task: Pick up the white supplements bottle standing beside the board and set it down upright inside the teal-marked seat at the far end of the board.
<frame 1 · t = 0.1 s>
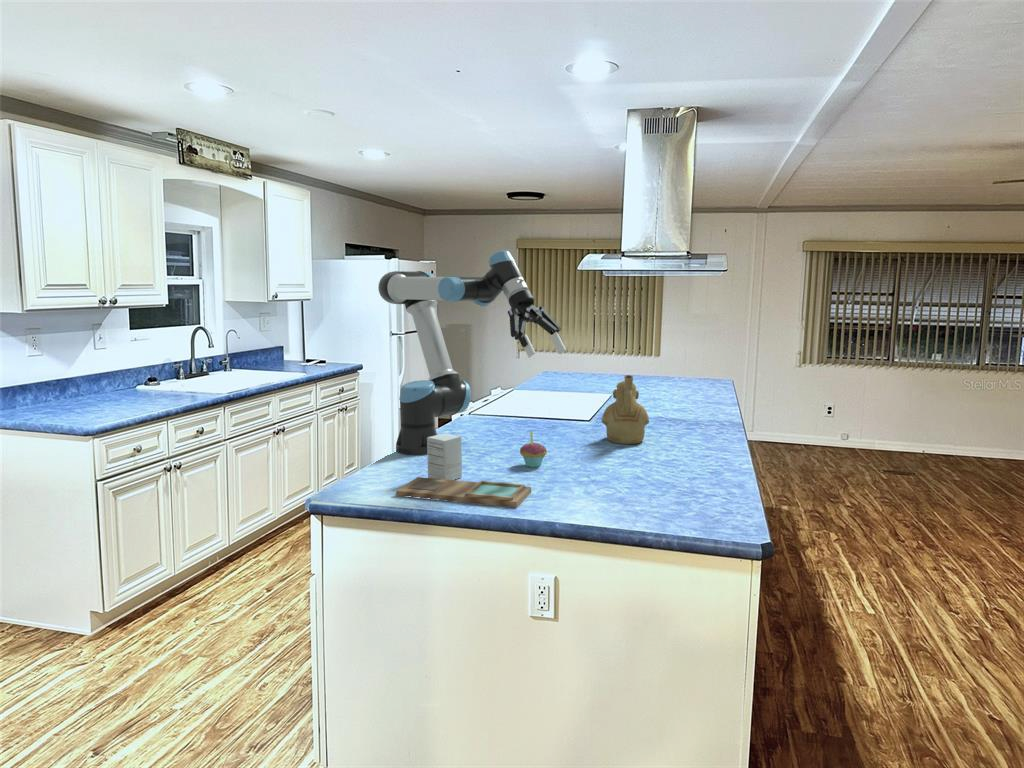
hand: (547, 353, 214), 36 cm above the worktop, tool tilted 35°, fingers open, 13 cm apart
board: (464, 494, 193), on the worktop
supplement box: (444, 479, 209), on the worktop
cupcake: (533, 465, 224), on the worktop
ceramic vessel: (624, 441, 258), on the worktop
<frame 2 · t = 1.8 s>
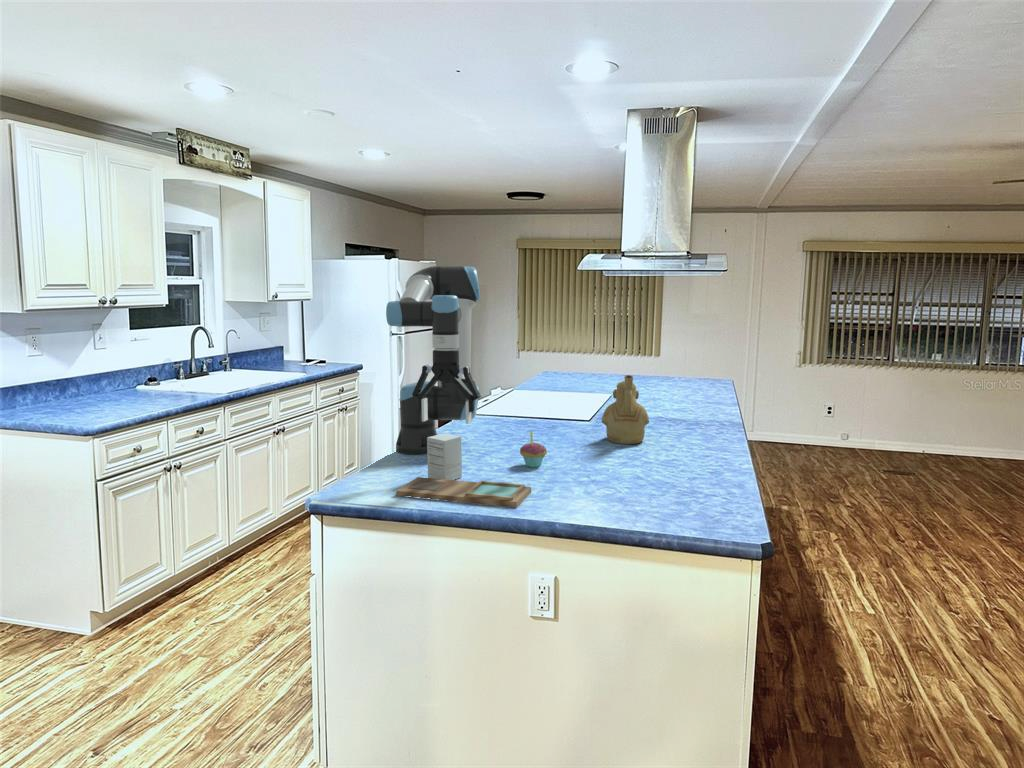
hand: (446, 422, 206), 17 cm above the worktop, tool pointing down, fingers open, 13 cm apart
nothing on the worktop moved.
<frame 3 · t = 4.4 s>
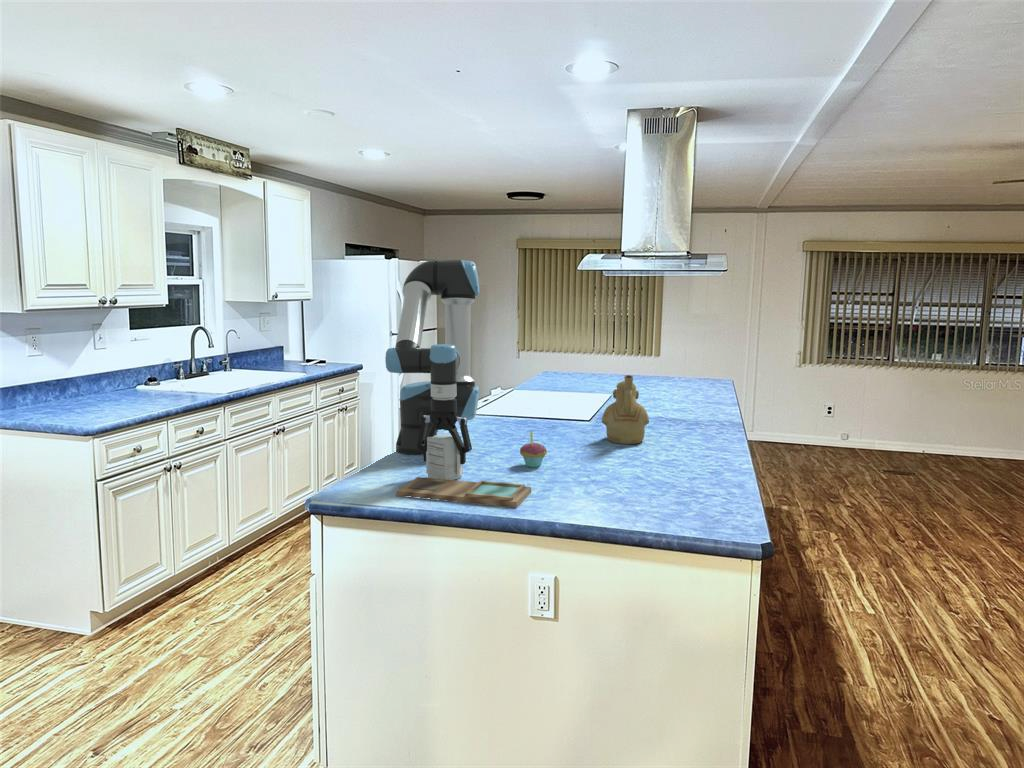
hand: (444, 473, 208), 1 cm above the worktop, tool pointing down, fingers closed on supplement box, 9 cm apart
supplement box: (444, 479, 209), on the worktop, touching gripper
everything else where it was.
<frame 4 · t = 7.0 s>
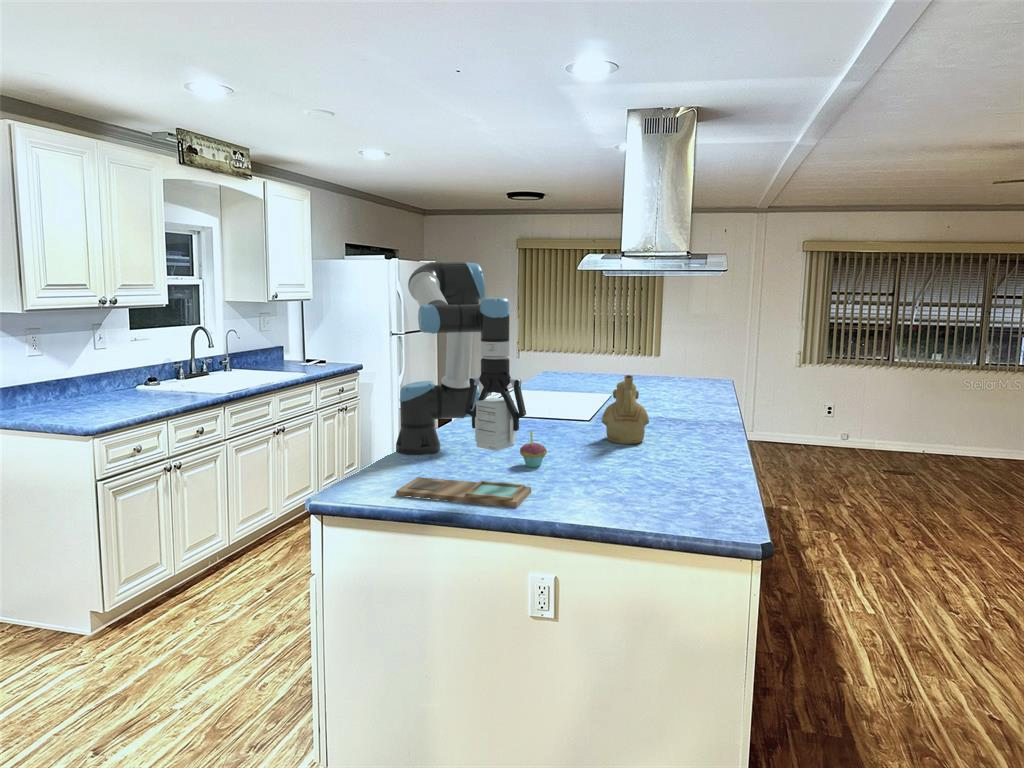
hand: (495, 441, 188), 15 cm above the worktop, tool pointing down, fingers closed on supplement box, 9 cm apart
supplement box: (495, 447, 189), point 14 cm above the worktop, touching gripper
everything else where it was.
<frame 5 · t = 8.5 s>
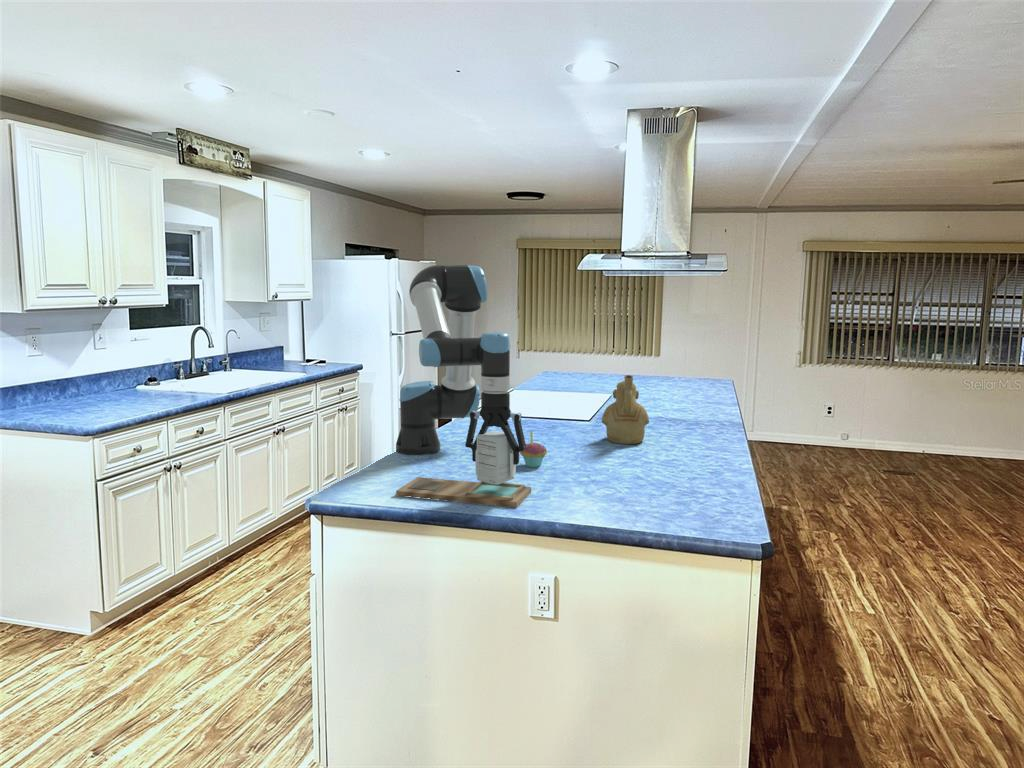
hand: (495, 474, 190), 6 cm above the worktop, tool pointing down, fingers closed on supplement box, 9 cm apart
supplement box: (495, 480, 190), point 5 cm above the worktop, touching gripper
everything else where it was.
when the fingers open (5 cm above the worktop, at t = 9.7 s): supplement box drops 2 cm, resting on board.
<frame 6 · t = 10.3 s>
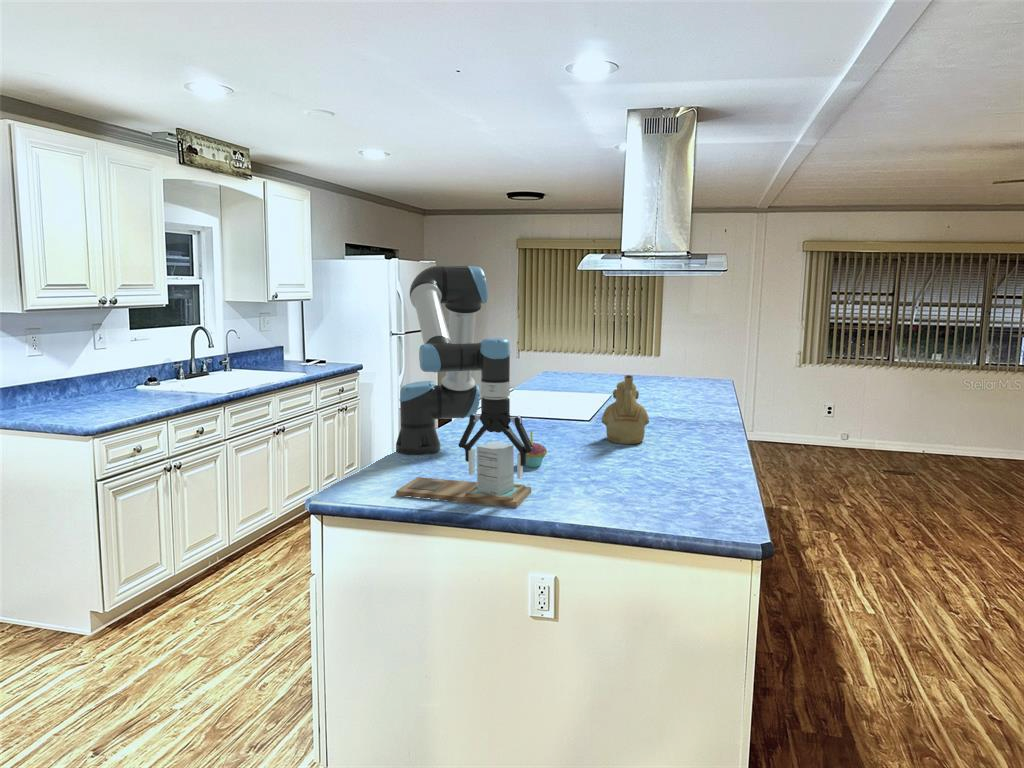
hand: (495, 475, 190), 6 cm above the worktop, tool pointing down, fingers open, 13 cm apart
supplement box: (495, 491, 191), point 1 cm above the worktop, touching board
everything else where it was.
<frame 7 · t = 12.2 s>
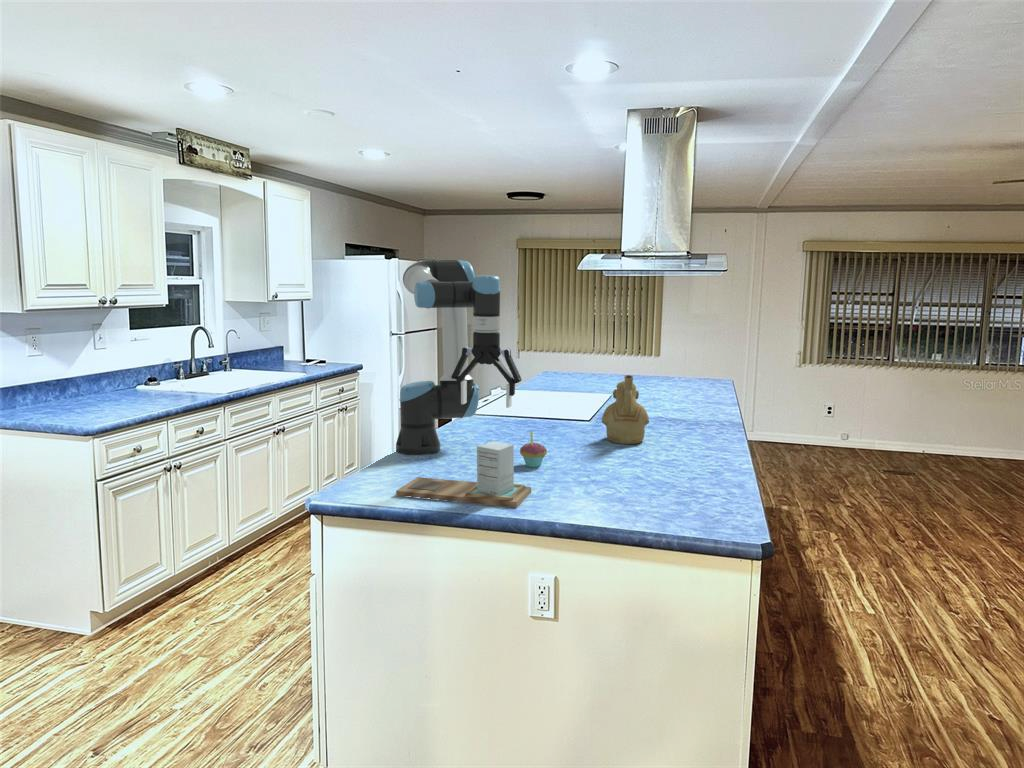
hand: (486, 405, 203), 22 cm above the worktop, tool pointing down, fingers open, 13 cm apart
nothing on the worktop moved.
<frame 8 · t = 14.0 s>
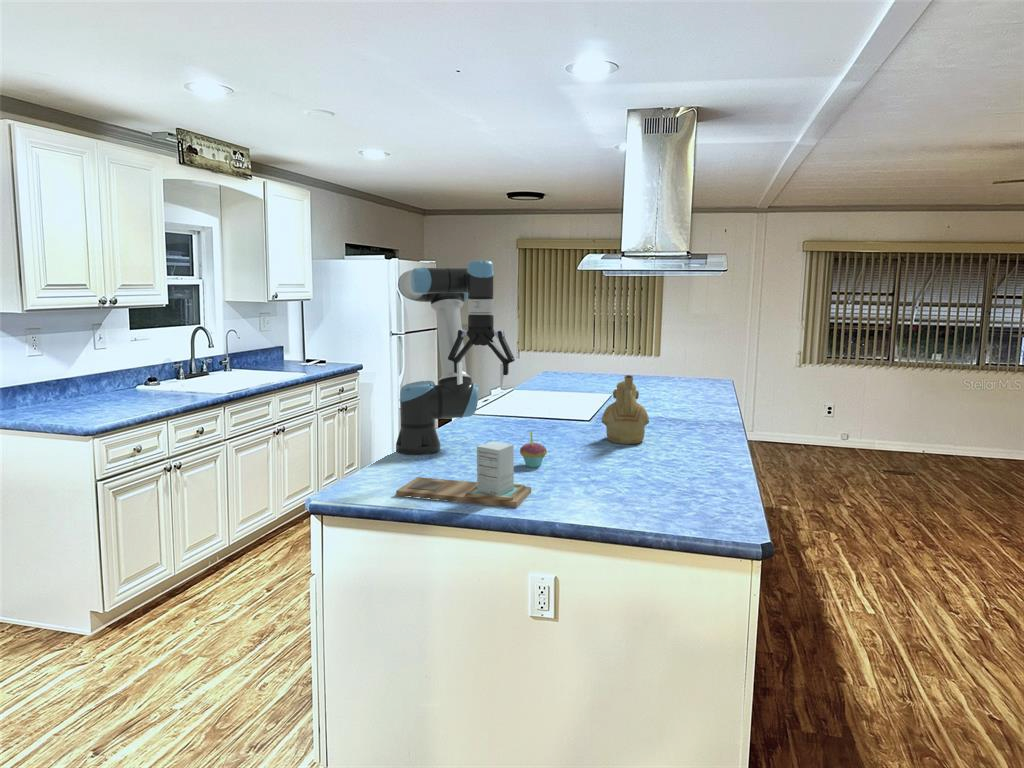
hand: (481, 385, 212), 27 cm above the worktop, tool pointing down, fingers open, 13 cm apart
nothing on the worktop moved.
at the end: supplement box inside the target area on the board (0.1 cm from its centre), point 1.4 cm above the board's base; supplement box tilted 0°; the gripper is holding nothing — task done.
